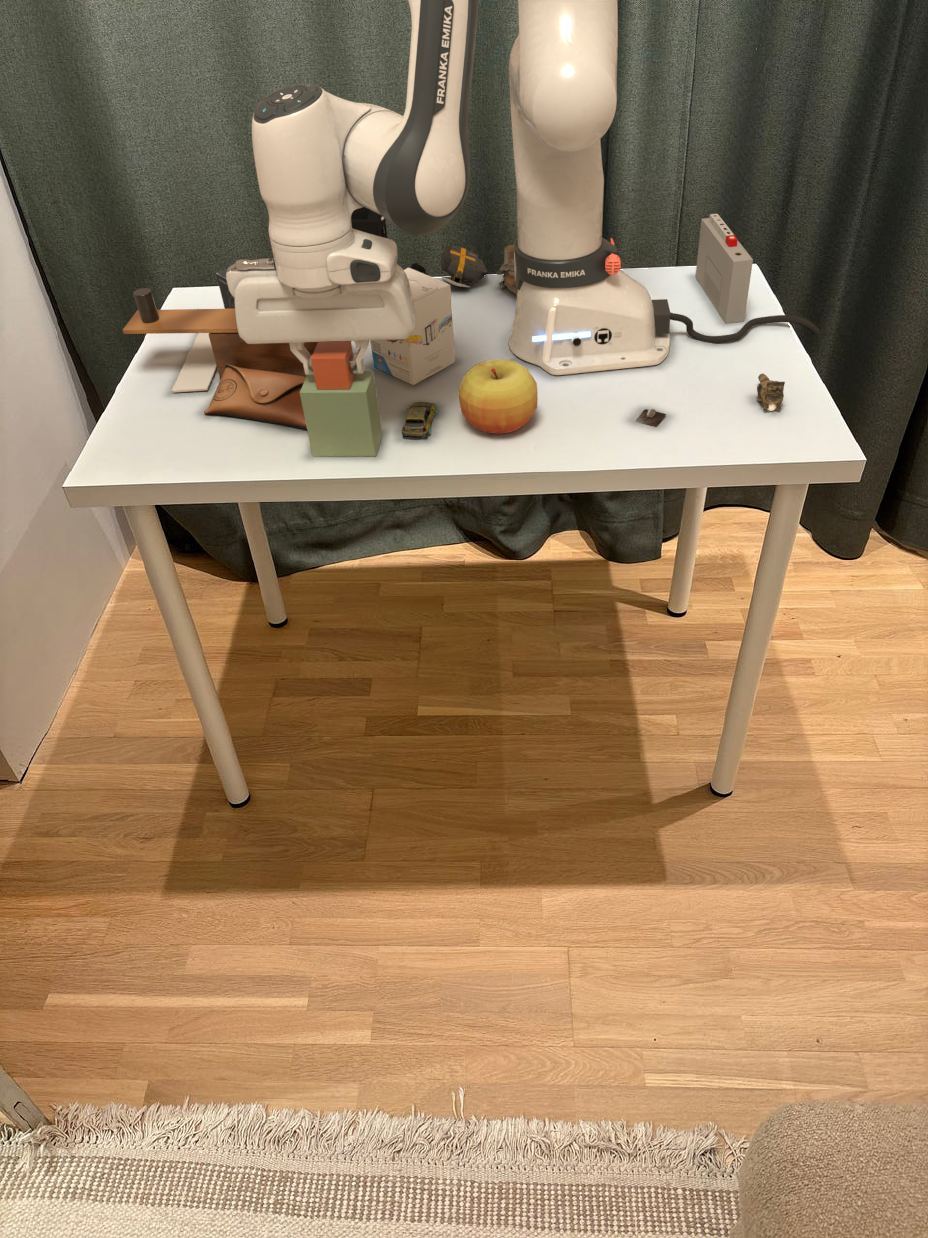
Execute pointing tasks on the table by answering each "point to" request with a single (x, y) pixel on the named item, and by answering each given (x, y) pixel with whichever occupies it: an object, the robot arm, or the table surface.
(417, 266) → the wireless earbuds
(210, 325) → the lid
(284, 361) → the storage box
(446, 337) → the ink box
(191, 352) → the nameplate
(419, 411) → the race car
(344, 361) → the block
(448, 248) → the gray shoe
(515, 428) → the apple
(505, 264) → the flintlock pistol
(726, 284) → the cassette player
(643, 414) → the square knob tile
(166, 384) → the table surface
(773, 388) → the cat figurine
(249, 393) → the sunglasses case
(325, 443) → the block
